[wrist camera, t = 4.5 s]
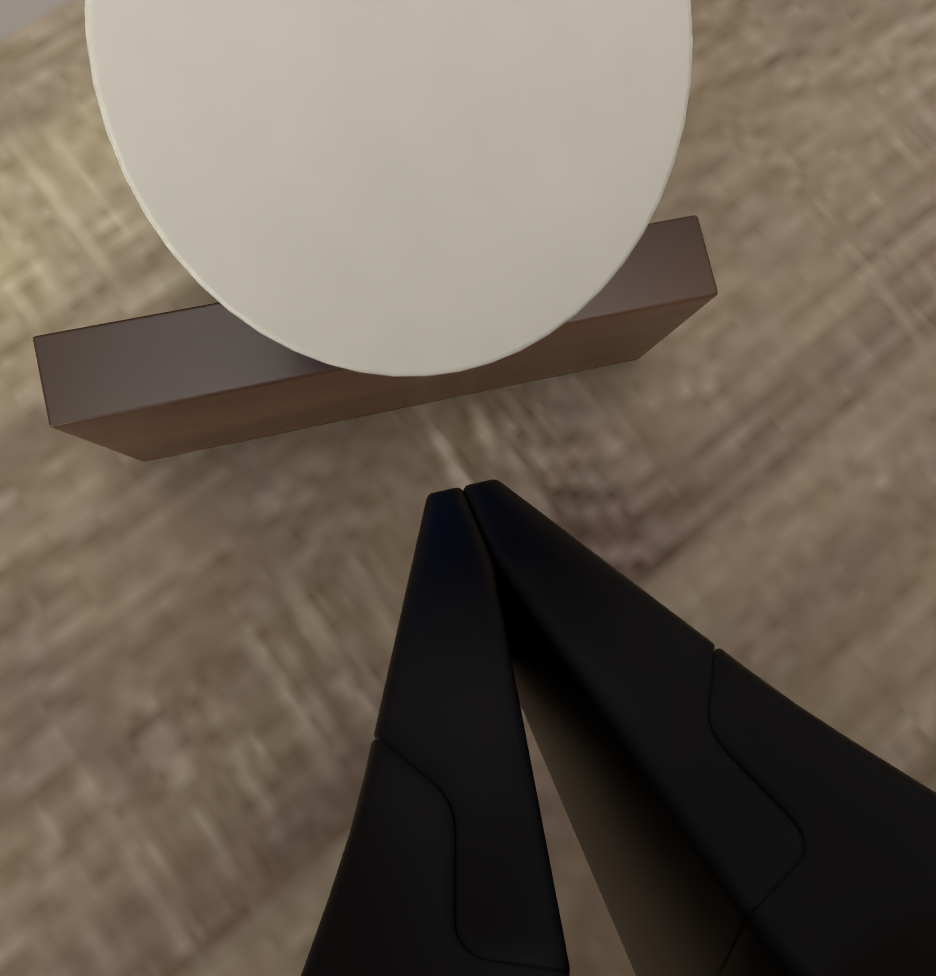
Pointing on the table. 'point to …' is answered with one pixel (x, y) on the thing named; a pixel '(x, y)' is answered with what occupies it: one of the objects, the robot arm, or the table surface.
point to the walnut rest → (319, 386)
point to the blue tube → (396, 160)
